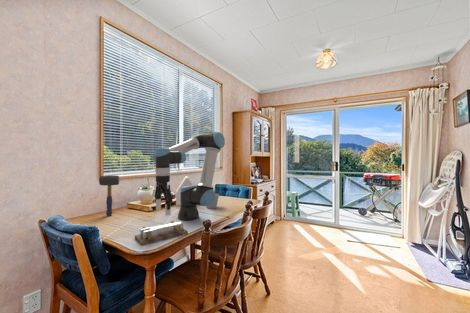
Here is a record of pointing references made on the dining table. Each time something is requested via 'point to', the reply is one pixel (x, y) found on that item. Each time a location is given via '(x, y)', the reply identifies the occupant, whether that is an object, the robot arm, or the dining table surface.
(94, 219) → the dining table surface
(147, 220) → the dining table surface
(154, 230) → the grey long bar
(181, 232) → the tool rack
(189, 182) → the milk carton
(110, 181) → the rubber mallet
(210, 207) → the potted plant
